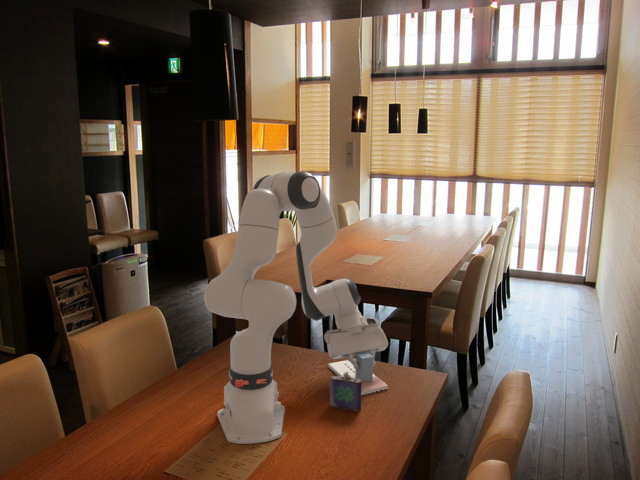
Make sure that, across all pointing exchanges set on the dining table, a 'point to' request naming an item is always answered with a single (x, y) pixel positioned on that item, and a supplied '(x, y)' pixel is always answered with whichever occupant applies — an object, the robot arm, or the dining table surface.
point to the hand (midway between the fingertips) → (365, 366)
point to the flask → (345, 392)
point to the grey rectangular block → (364, 367)
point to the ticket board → (348, 367)
